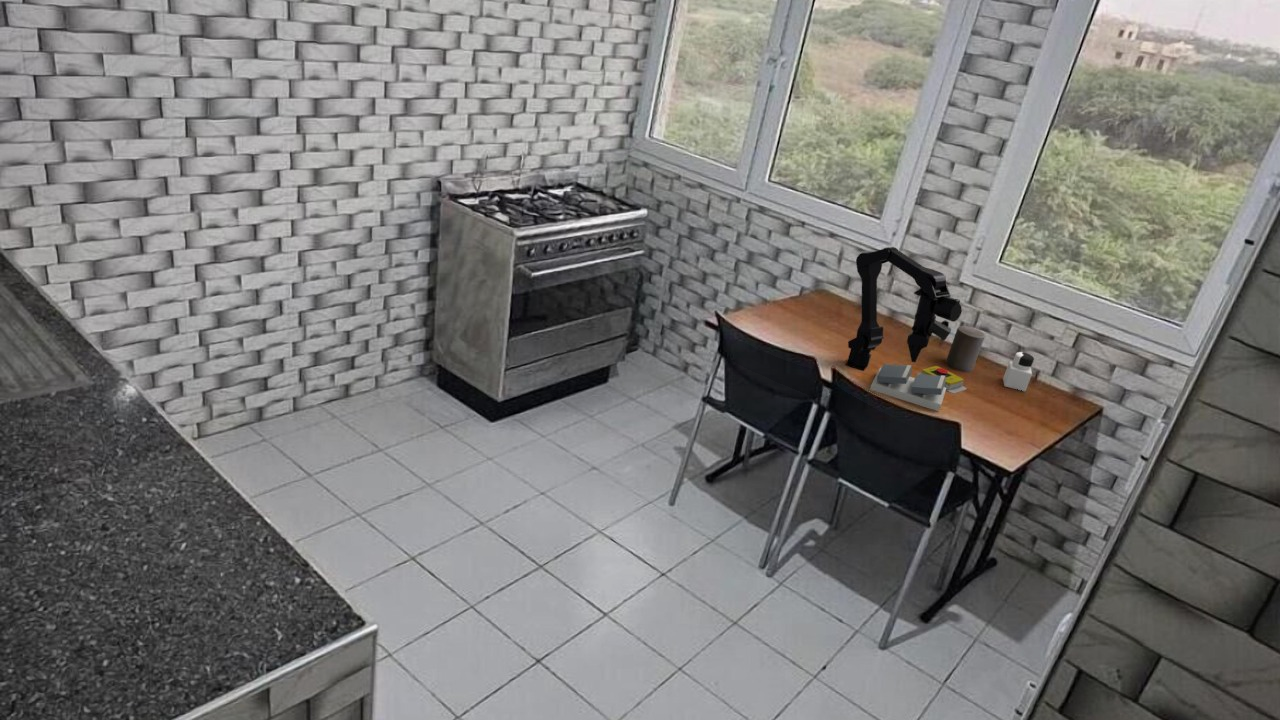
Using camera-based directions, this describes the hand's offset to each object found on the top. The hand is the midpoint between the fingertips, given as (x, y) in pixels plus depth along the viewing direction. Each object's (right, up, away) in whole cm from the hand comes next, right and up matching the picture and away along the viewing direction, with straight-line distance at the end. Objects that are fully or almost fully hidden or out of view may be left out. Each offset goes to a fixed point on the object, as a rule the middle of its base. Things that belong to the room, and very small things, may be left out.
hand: (915, 357), depth 269 cm
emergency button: (+15, -9, +18) cm, 25 cm away
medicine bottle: (+43, -10, +25) cm, 50 cm away
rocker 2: (+5, -8, 0) cm, 10 cm away
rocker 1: (-5, -5, +4) cm, 8 cm away
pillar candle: (+27, -3, +34) cm, 43 cm away
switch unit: (-1, -11, +5) cm, 12 cm away
